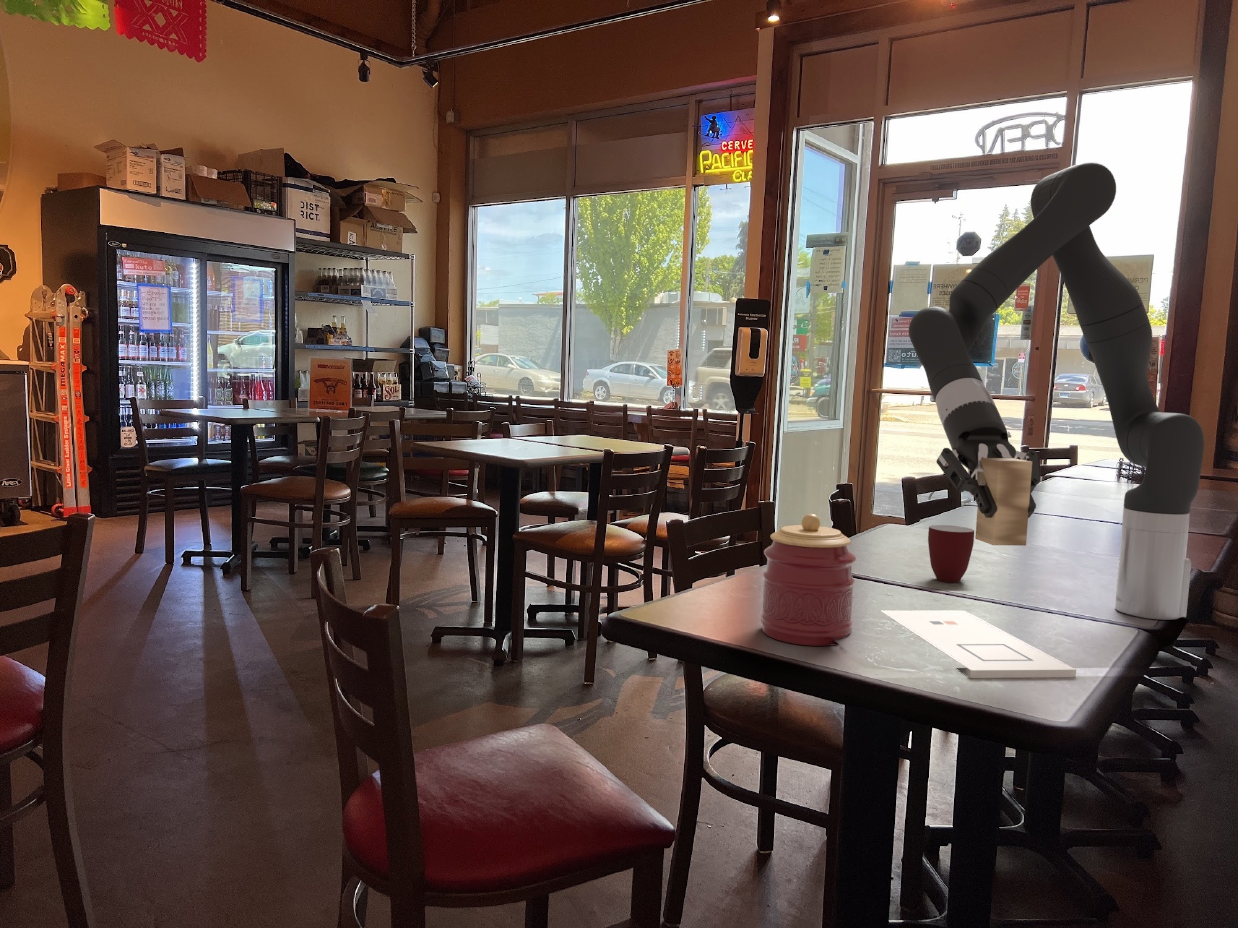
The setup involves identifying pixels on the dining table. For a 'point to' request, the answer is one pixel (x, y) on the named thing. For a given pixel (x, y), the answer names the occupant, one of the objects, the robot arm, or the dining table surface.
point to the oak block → (1006, 501)
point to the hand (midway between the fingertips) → (1010, 513)
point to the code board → (980, 645)
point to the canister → (808, 585)
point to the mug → (950, 551)
